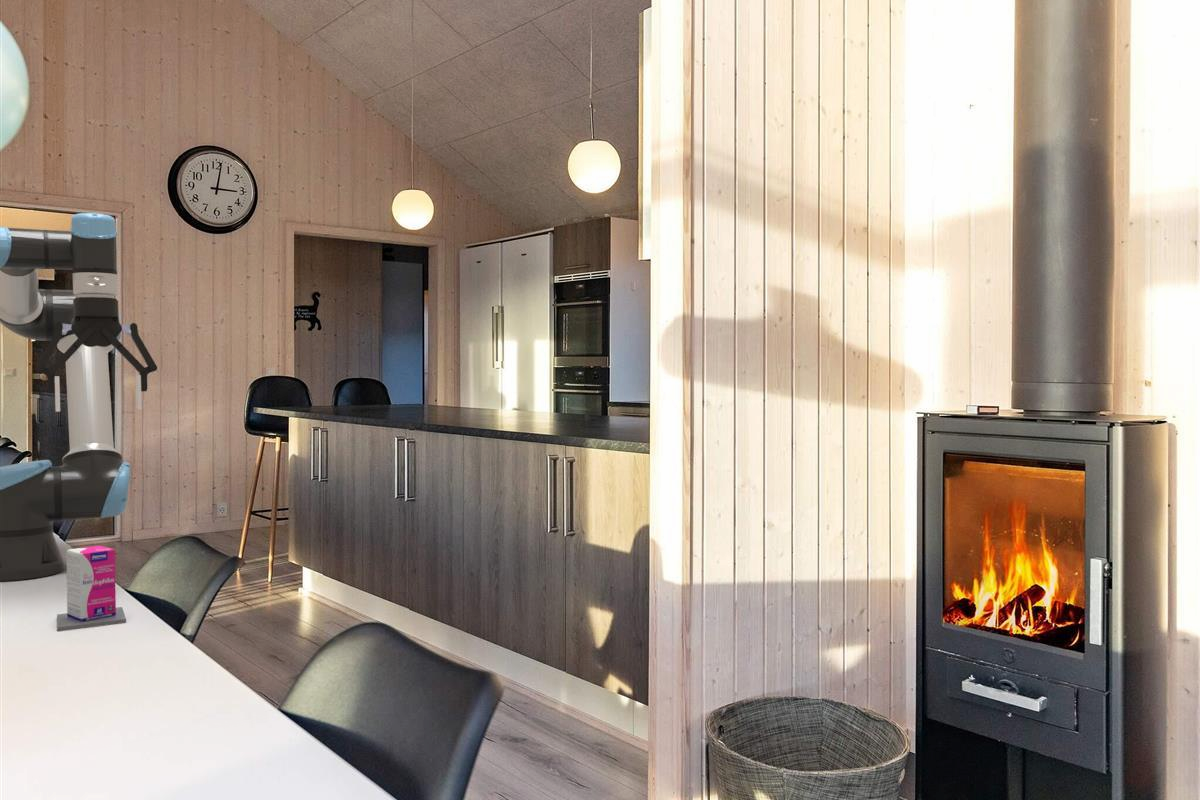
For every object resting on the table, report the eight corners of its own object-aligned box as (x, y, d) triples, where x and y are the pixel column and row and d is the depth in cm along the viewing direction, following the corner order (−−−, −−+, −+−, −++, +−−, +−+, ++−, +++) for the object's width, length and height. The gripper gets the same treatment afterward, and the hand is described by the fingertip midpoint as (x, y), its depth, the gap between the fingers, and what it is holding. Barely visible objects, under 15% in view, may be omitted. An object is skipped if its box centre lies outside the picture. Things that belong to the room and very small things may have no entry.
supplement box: (81, 622, 161) (79, 553, 160) (66, 617, 165) (64, 549, 164) (117, 615, 165) (115, 548, 165) (102, 610, 169) (100, 544, 169)
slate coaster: (57, 617, 167) (56, 614, 167) (122, 610, 172) (122, 606, 172) (57, 631, 158) (57, 627, 158) (126, 622, 163) (125, 618, 163)
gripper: (18, 294, 174) (21, 413, 175) (170, 297, 187) (173, 408, 187) (19, 297, 181) (22, 411, 182) (166, 300, 193) (169, 407, 194)
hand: (99, 410), depth 184 cm, fingers open, 13 cm apart
